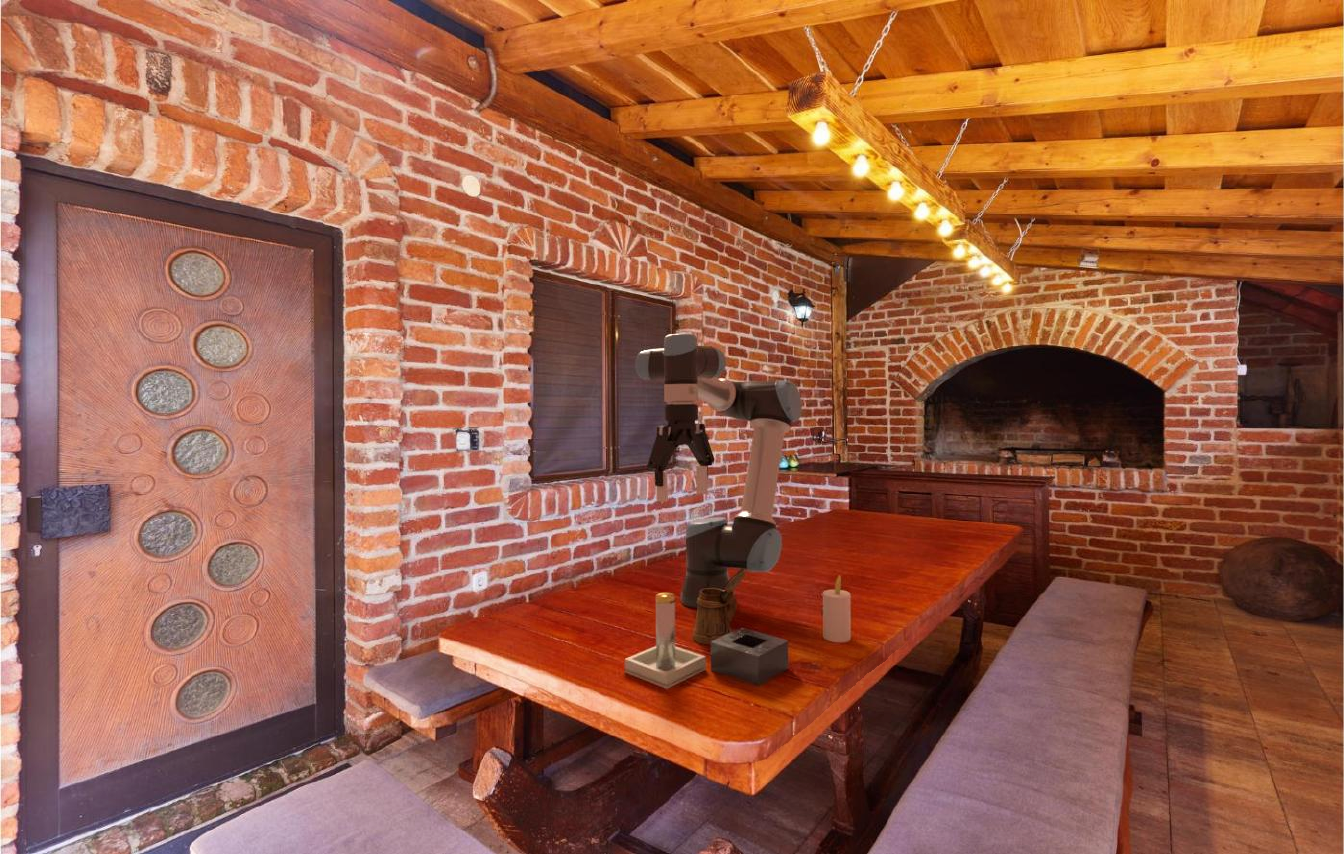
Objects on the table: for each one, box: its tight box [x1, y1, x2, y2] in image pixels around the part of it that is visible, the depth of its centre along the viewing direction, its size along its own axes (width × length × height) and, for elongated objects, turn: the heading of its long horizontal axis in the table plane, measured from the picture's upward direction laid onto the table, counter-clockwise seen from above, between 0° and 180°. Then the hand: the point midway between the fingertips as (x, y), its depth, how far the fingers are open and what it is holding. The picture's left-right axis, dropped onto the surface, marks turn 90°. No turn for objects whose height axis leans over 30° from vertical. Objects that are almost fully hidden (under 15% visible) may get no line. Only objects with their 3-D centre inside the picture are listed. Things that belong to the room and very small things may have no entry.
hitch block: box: [710, 627, 789, 687], centre depth 135 cm, size 12×11×6 cm
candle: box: [821, 574, 852, 643], centre depth 152 cm, size 6×6×15 cm
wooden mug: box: [692, 569, 746, 645], centre depth 152 cm, size 9×14×18 cm, turn 51°
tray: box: [624, 645, 707, 690], centre depth 135 cm, size 12×12×3 cm
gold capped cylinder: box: [655, 592, 676, 671], centre depth 135 cm, size 4×4×15 cm
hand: (682, 497), depth 146 cm, fingers open, 13 cm apart
